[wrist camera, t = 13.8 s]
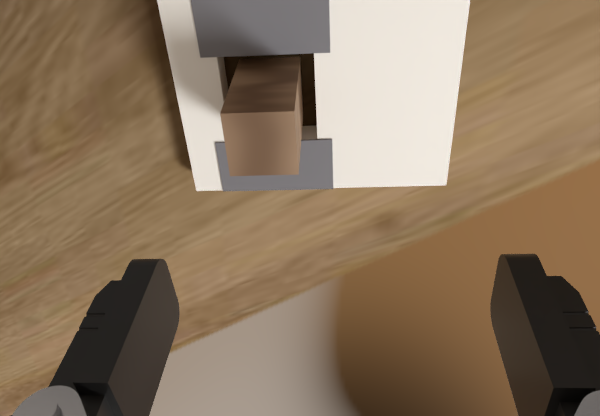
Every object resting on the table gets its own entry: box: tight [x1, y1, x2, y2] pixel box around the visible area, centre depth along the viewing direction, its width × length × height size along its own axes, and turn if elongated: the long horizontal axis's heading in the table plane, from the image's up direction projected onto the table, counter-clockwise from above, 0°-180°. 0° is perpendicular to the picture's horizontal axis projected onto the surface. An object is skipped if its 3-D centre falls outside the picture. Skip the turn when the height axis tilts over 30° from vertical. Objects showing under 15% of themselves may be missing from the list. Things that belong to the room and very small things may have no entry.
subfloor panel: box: [157, 0, 470, 191], centre depth 35 cm, size 18×14×2 cm
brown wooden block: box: [220, 56, 303, 176], centre depth 33 cm, size 4×4×8 cm
